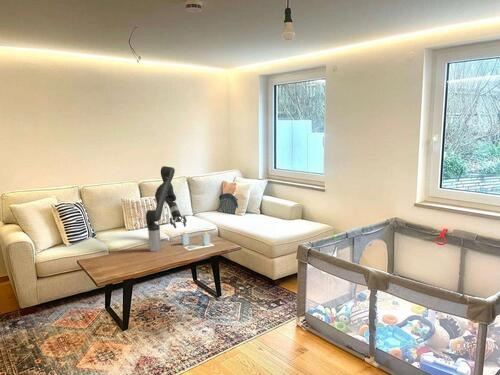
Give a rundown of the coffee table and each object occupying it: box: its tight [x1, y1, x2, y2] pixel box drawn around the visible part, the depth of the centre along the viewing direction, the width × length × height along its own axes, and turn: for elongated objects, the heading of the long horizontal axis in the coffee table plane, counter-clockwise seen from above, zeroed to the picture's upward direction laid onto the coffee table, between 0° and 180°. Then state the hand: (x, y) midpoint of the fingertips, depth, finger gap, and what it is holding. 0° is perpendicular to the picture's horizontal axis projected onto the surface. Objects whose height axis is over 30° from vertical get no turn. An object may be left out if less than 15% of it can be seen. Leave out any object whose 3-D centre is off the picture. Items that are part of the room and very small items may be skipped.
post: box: [201, 232, 211, 246], centre depth 318 cm, size 5×5×10 cm
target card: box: [183, 242, 215, 251], centre depth 315 cm, size 23×12×1 cm, turn 120°
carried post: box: [180, 232, 190, 246], centre depth 324 cm, size 5×5×10 cm
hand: (180, 227), depth 332 cm, fingers open, 8 cm apart
